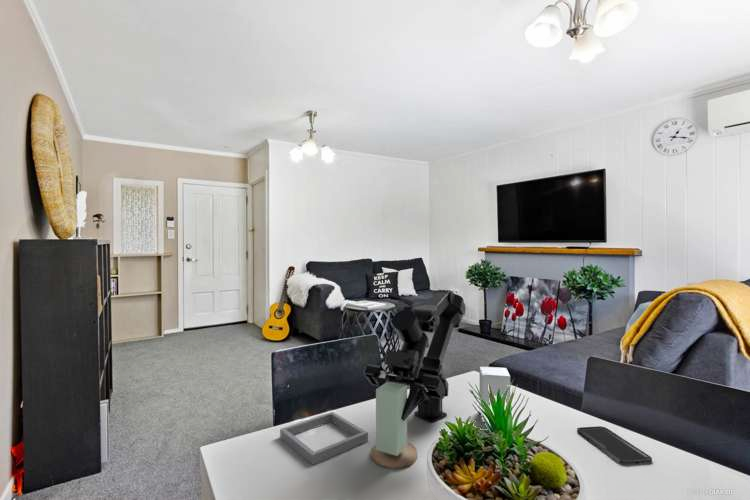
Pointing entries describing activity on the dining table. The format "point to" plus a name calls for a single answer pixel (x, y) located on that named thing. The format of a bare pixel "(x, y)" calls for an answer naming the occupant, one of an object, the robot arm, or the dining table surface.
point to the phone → (614, 445)
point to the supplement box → (493, 382)
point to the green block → (391, 418)
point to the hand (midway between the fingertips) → (391, 417)
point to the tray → (328, 451)
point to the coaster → (395, 457)
